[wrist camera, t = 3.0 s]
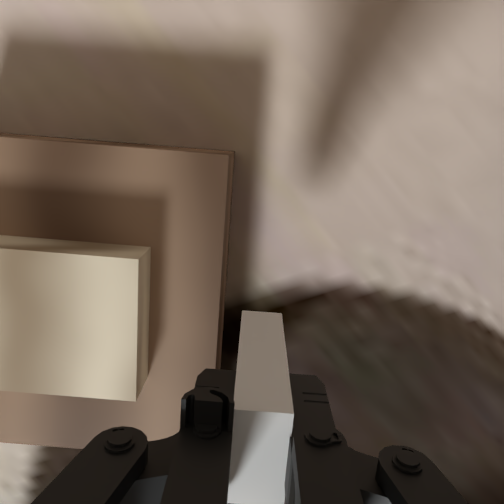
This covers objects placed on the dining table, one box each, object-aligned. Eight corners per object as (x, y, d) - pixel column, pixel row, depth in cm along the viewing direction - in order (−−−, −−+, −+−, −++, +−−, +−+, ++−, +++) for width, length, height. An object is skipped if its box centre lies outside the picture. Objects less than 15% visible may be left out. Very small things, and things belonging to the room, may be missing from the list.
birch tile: (150, 246, 20) (138, 259, 18) (147, 376, 21) (136, 401, 19) (-41, 231, 20) (-74, 242, 18) (-31, 362, 21) (-60, 385, 19)
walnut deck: (234, 151, 22) (229, 154, 19) (217, 410, 26) (209, 459, 22) (-15, 132, 22) (-73, 131, 19) (0, 392, 26) (-46, 438, 22)
